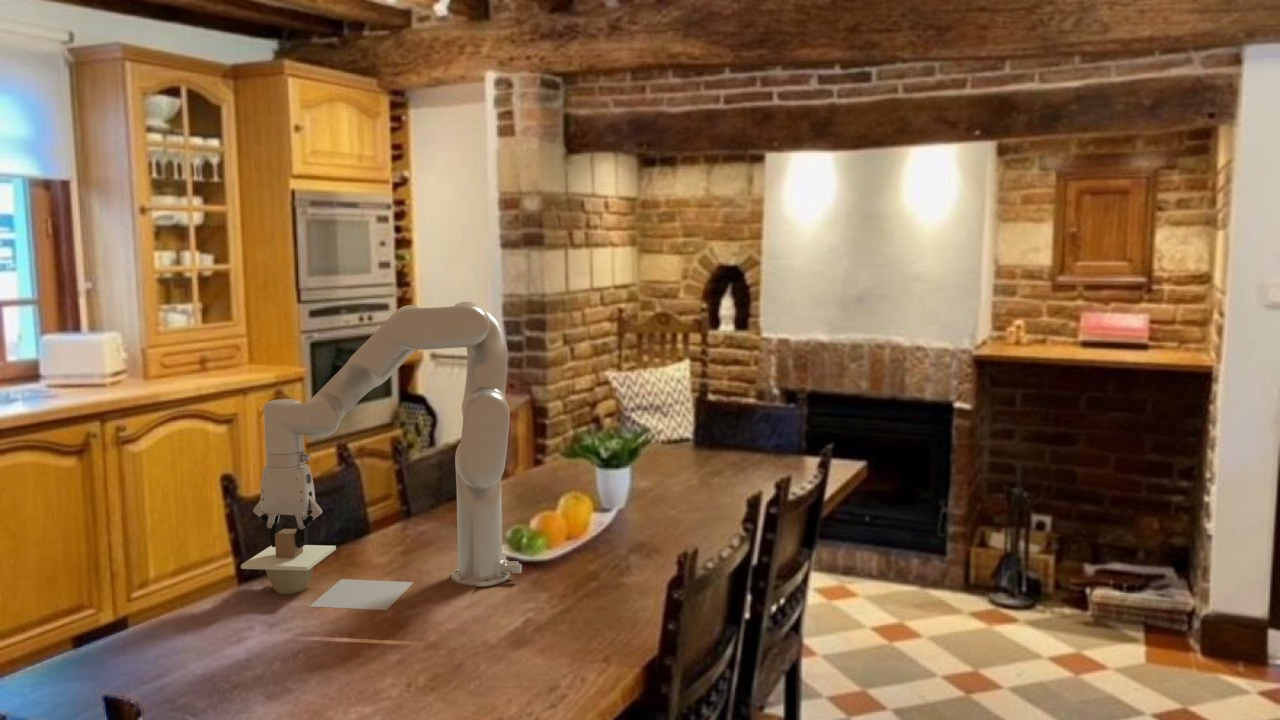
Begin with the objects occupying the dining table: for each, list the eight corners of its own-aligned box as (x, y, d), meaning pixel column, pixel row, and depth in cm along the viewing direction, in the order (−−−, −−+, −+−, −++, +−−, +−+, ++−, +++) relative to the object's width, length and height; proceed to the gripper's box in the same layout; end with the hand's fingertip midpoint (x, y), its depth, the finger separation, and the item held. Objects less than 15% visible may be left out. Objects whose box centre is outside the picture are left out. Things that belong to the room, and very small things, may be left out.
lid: (335, 549, 217) (334, 523, 216) (307, 570, 203) (306, 542, 202) (273, 547, 218) (272, 521, 217) (241, 568, 204) (239, 540, 204)
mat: (413, 584, 216) (413, 582, 216) (386, 612, 200) (386, 609, 200) (341, 581, 217) (341, 579, 217) (309, 609, 202) (308, 606, 202)
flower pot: (300, 602, 206) (299, 568, 205) (255, 598, 208) (254, 564, 207) (325, 585, 215) (323, 553, 214) (282, 582, 217) (280, 550, 216)
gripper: (332, 456, 211) (335, 541, 213) (255, 454, 212) (259, 538, 215) (317, 464, 203) (320, 552, 205) (237, 462, 205) (241, 549, 207)
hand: (289, 544), depth 210 cm, fingers open, 4 cm apart
